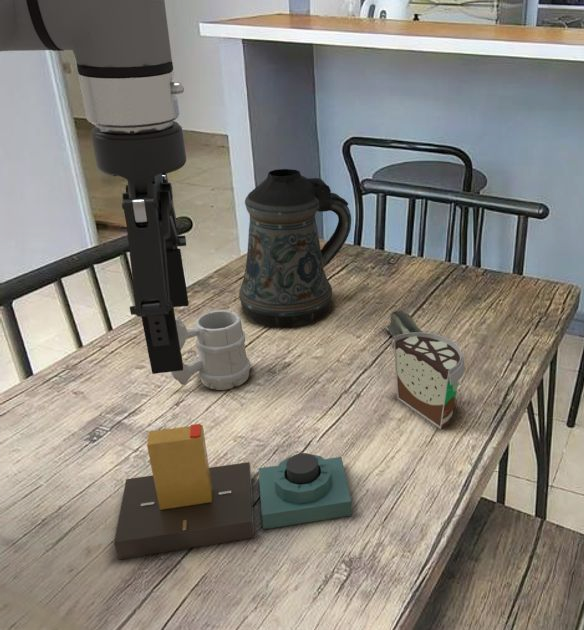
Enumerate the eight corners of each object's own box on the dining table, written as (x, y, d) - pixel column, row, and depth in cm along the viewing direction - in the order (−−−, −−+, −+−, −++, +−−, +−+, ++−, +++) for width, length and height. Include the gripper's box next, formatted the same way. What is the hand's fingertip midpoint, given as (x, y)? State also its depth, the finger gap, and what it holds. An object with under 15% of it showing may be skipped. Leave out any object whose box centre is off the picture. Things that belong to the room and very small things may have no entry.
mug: (260, 380, 103) (252, 309, 97) (182, 406, 96) (170, 332, 91) (239, 358, 108) (231, 290, 102) (164, 382, 102) (151, 310, 96)
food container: (480, 417, 96) (485, 356, 91) (448, 434, 92) (451, 371, 87) (422, 379, 104) (424, 322, 99) (390, 394, 100) (391, 335, 96)
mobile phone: (440, 343, 104) (398, 301, 116) (422, 348, 103) (381, 304, 114) (438, 371, 106) (397, 326, 118) (421, 375, 105) (381, 330, 117)
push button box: (263, 529, 76) (260, 502, 74) (260, 482, 83) (257, 456, 81) (351, 515, 78) (351, 488, 76) (341, 470, 85) (340, 444, 83)
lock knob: (160, 510, 75) (146, 443, 70) (161, 495, 77) (148, 429, 73) (212, 502, 76) (201, 436, 72) (212, 487, 78) (202, 422, 74)
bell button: (288, 487, 77) (287, 475, 76) (286, 466, 80) (285, 455, 79) (320, 482, 78) (319, 470, 77) (316, 462, 81) (316, 450, 80)
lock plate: (118, 559, 72) (113, 541, 70) (129, 495, 80) (125, 477, 79) (254, 537, 75) (252, 519, 74) (251, 477, 83) (249, 460, 82)
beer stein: (222, 307, 123) (205, 172, 112) (306, 276, 136) (299, 151, 125) (279, 339, 114) (267, 194, 102) (363, 302, 126) (361, 170, 115)
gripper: (173, 157, 50) (209, 398, 59) (186, 96, 71) (211, 281, 81) (61, 162, 48) (117, 410, 58) (109, 98, 69) (144, 287, 79)
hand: (172, 335), depth 69 cm, fingers open, 13 cm apart
